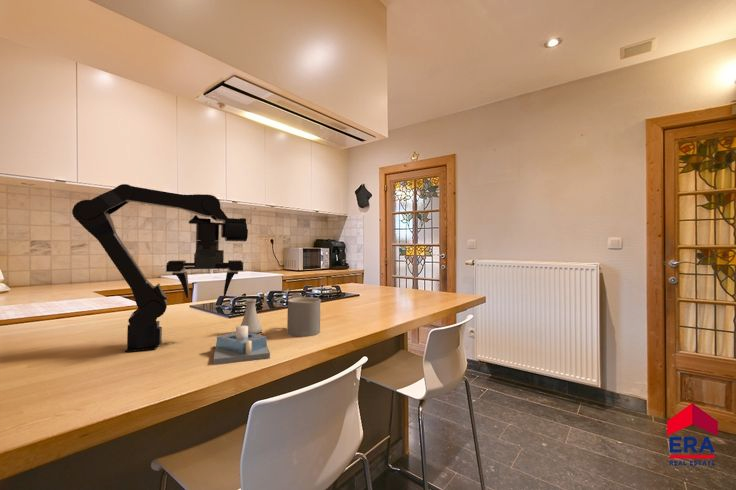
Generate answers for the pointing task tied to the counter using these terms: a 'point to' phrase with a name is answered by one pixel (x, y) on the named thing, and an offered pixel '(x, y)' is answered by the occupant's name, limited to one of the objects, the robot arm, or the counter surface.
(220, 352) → the post board
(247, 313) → the flask
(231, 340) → the flange plate
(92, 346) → the counter surface
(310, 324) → the coffee mug
